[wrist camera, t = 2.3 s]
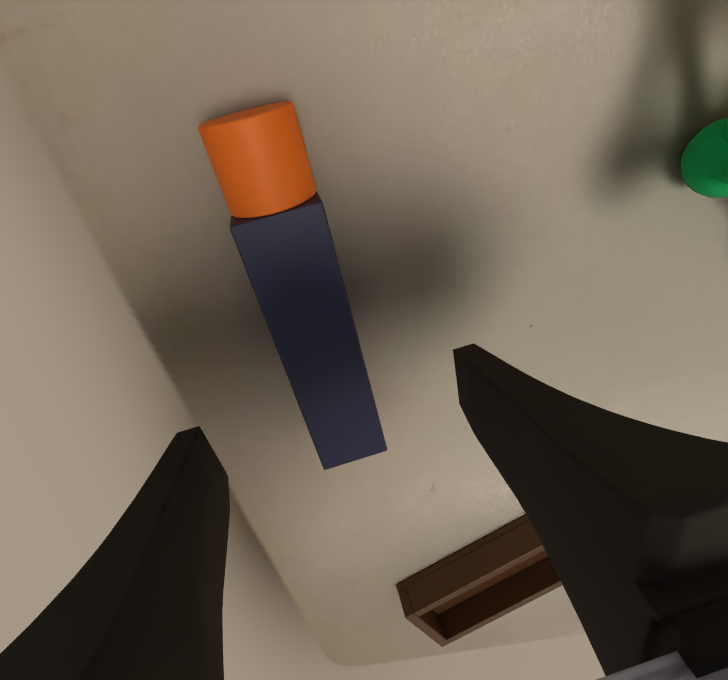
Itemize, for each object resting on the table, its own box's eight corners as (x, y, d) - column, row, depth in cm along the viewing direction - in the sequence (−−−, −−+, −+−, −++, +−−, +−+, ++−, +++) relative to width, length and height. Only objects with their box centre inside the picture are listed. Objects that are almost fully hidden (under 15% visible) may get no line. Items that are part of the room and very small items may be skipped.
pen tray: (431, 615, 30) (442, 647, 29) (395, 584, 27) (405, 618, 26) (649, 500, 28) (674, 527, 27) (635, 455, 26) (662, 481, 24)
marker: (373, 408, 20) (387, 450, 18) (316, 426, 20) (324, 470, 17) (289, 98, 13) (296, 103, 11) (202, 120, 13) (191, 131, 11)
